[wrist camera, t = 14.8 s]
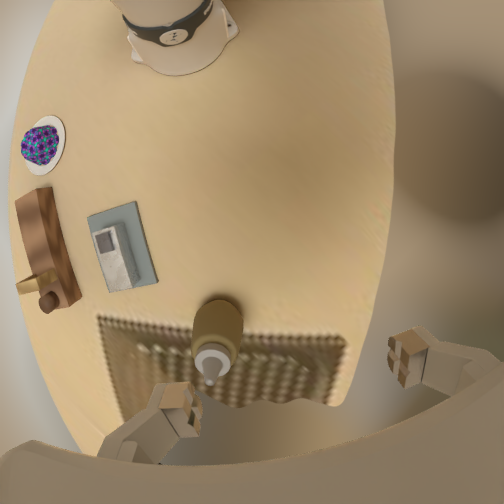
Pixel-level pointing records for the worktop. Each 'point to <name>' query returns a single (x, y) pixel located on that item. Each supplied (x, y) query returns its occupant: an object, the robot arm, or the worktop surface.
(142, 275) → the rubber mat
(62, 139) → the pudding
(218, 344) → the squeeze bottle
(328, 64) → the worktop surface
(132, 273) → the lever cap
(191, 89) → the worktop surface
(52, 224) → the brown stand
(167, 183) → the worktop surface
